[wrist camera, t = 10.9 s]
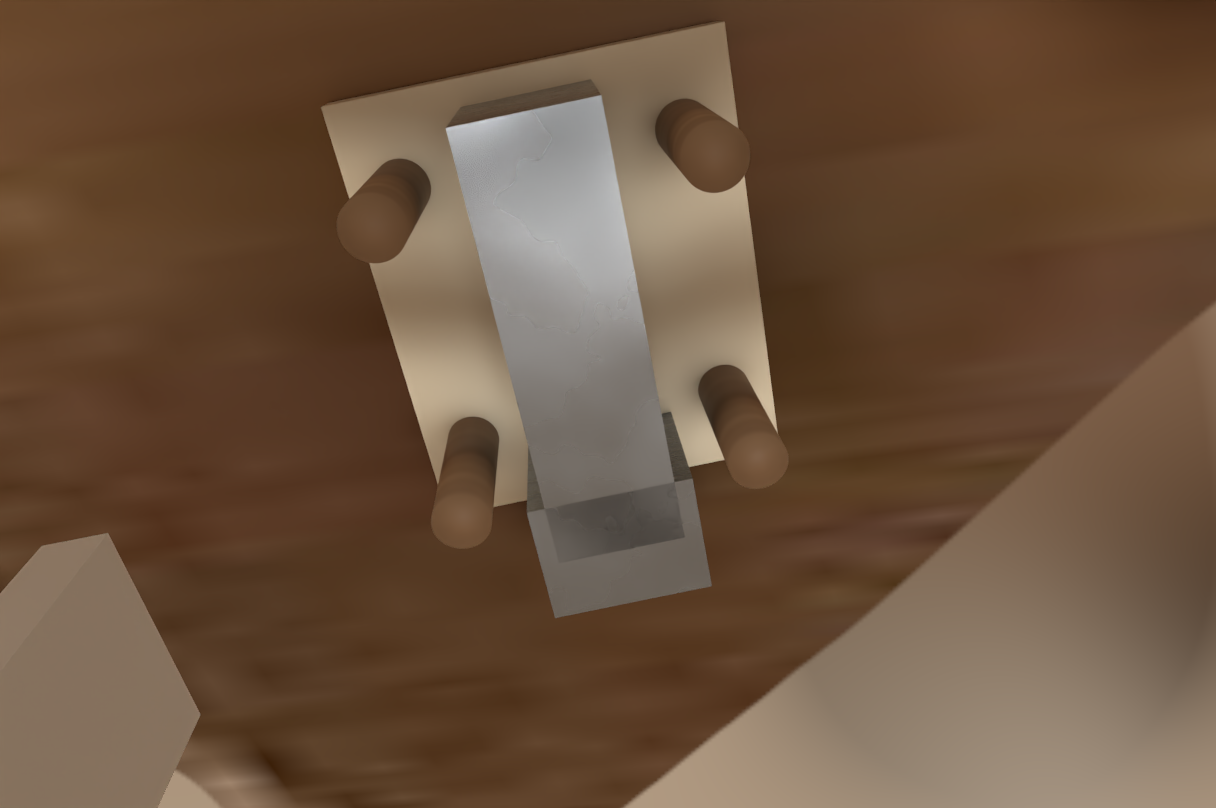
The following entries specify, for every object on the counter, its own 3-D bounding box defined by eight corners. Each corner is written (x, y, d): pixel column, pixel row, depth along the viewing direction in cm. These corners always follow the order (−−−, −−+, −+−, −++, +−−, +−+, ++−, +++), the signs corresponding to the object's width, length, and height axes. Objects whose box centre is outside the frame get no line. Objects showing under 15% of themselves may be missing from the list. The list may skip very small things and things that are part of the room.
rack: (328, 102, 25) (271, 131, 20) (717, 21, 25) (767, 26, 20) (450, 500, 31) (431, 609, 25) (772, 434, 31) (823, 530, 25)
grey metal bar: (442, 111, 25) (424, 132, 21) (609, 75, 25) (623, 90, 21) (552, 535, 30) (555, 618, 26) (688, 508, 30) (711, 585, 26)
